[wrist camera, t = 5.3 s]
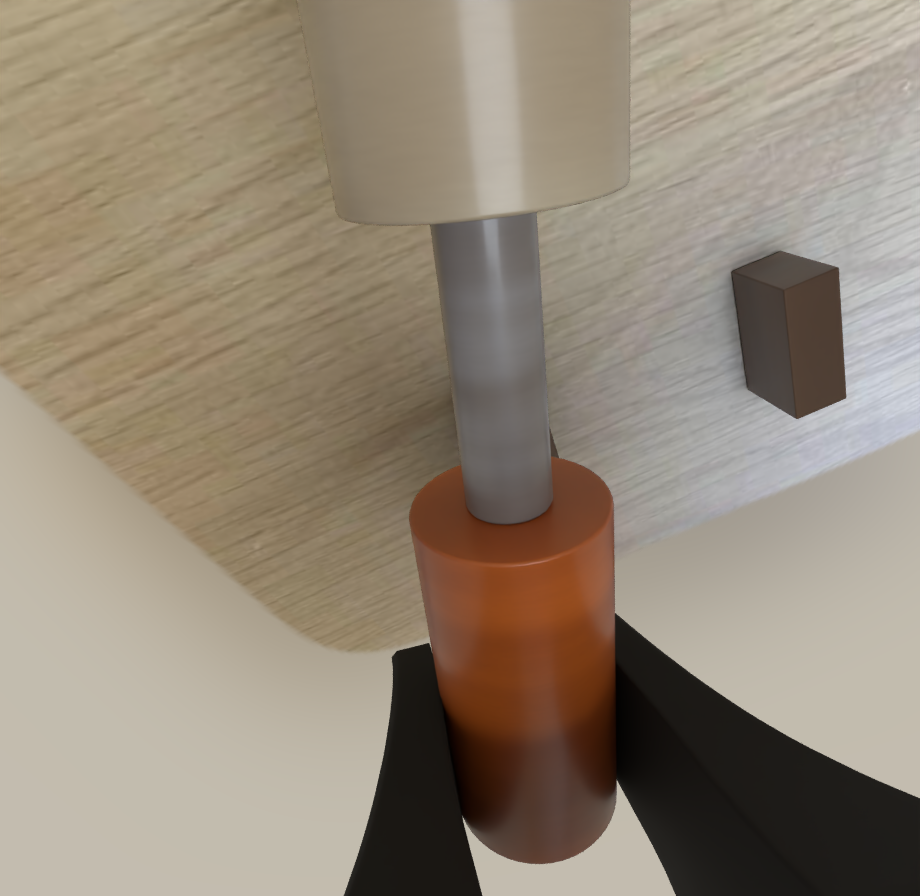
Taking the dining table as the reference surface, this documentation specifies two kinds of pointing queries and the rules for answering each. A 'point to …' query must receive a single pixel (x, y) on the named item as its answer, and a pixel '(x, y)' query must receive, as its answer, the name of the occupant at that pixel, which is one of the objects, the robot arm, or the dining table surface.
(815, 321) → the small blocks
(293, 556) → the dining table surface
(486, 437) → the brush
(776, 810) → the robot arm
